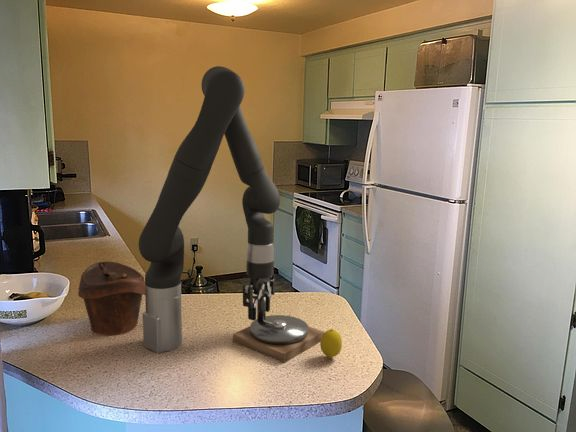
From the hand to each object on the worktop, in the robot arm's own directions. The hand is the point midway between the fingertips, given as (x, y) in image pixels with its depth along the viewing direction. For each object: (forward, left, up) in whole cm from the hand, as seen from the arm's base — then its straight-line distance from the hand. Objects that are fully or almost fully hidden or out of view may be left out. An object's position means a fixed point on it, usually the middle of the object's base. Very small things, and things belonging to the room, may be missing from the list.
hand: (259, 315), depth 136 cm
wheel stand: (+1, -6, -6) cm, 9 cm away
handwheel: (+1, -6, -3) cm, 7 cm away
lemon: (+2, -23, -6) cm, 24 cm away
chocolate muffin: (-23, +36, -6) cm, 43 cm away
